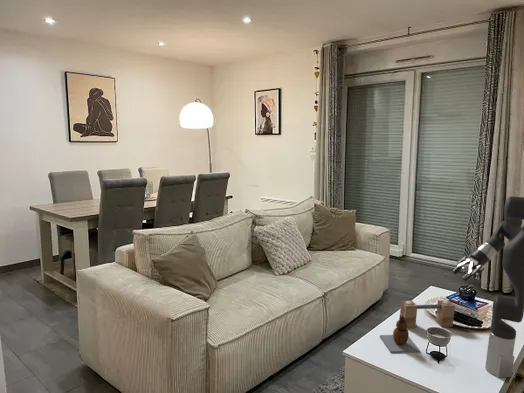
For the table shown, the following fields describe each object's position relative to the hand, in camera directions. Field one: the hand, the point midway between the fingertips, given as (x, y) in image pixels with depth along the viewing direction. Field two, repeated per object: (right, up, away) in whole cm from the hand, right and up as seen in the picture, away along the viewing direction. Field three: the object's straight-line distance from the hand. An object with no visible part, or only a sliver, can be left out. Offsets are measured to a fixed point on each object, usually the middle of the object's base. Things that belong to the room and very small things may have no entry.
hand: (458, 276), depth 190 cm
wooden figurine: (-30, -31, -5) cm, 44 cm away
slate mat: (-31, -31, -4) cm, 44 cm away
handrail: (-10, -28, +15) cm, 33 cm away
